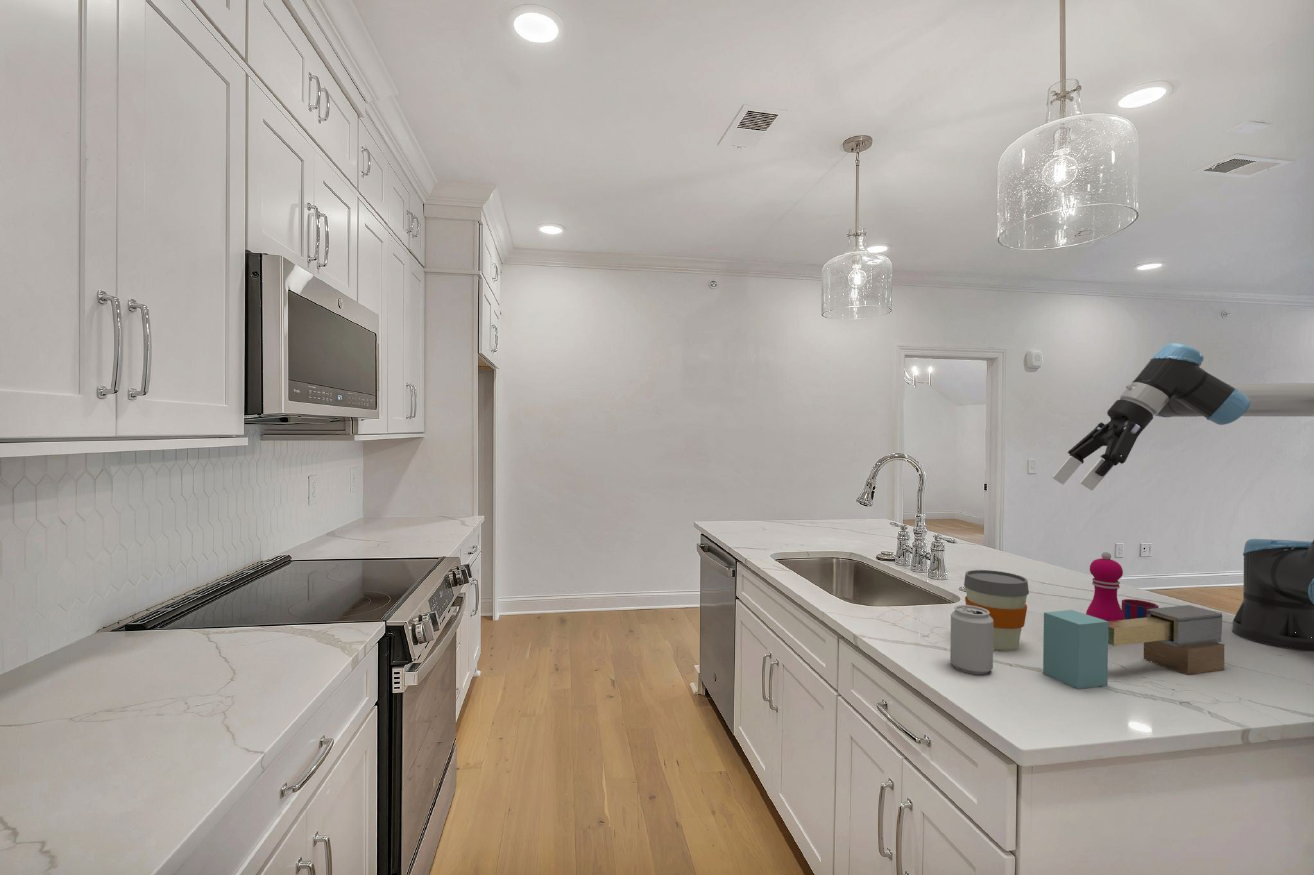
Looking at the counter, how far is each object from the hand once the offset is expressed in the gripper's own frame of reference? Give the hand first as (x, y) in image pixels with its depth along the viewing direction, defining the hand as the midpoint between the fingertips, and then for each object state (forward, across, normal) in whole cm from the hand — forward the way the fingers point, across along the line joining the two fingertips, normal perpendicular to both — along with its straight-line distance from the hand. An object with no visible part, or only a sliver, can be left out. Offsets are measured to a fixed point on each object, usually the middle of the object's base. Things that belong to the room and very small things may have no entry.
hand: (1070, 483), depth 129 cm
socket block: (+34, +23, +14) cm, 43 cm away
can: (+44, +22, 0) cm, 50 cm away
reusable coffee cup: (+39, +6, +7) cm, 40 cm away
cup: (+18, -10, +38) cm, 43 cm away
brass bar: (+18, +13, +26) cm, 34 cm away
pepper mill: (+24, -4, +28) cm, 37 cm away
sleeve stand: (+19, +9, +34) cm, 41 cm away
